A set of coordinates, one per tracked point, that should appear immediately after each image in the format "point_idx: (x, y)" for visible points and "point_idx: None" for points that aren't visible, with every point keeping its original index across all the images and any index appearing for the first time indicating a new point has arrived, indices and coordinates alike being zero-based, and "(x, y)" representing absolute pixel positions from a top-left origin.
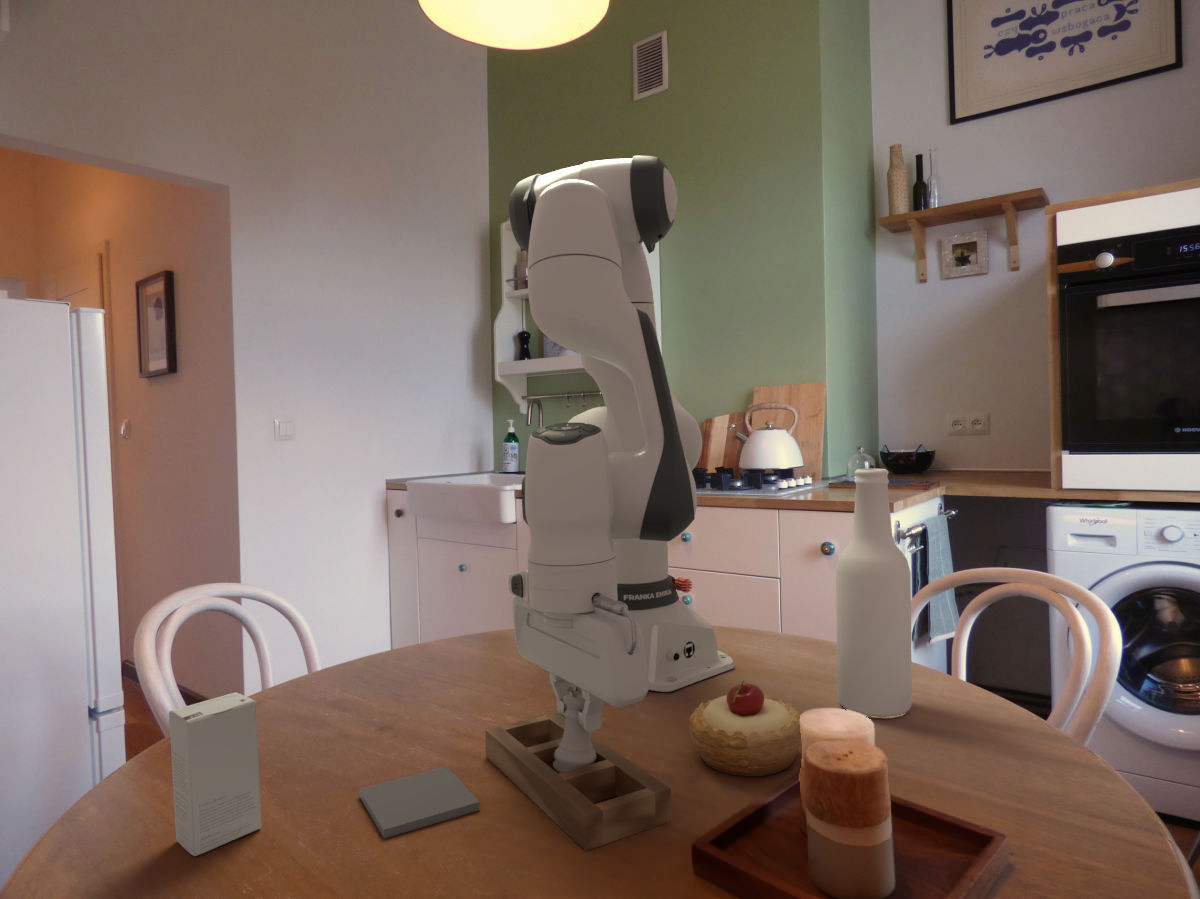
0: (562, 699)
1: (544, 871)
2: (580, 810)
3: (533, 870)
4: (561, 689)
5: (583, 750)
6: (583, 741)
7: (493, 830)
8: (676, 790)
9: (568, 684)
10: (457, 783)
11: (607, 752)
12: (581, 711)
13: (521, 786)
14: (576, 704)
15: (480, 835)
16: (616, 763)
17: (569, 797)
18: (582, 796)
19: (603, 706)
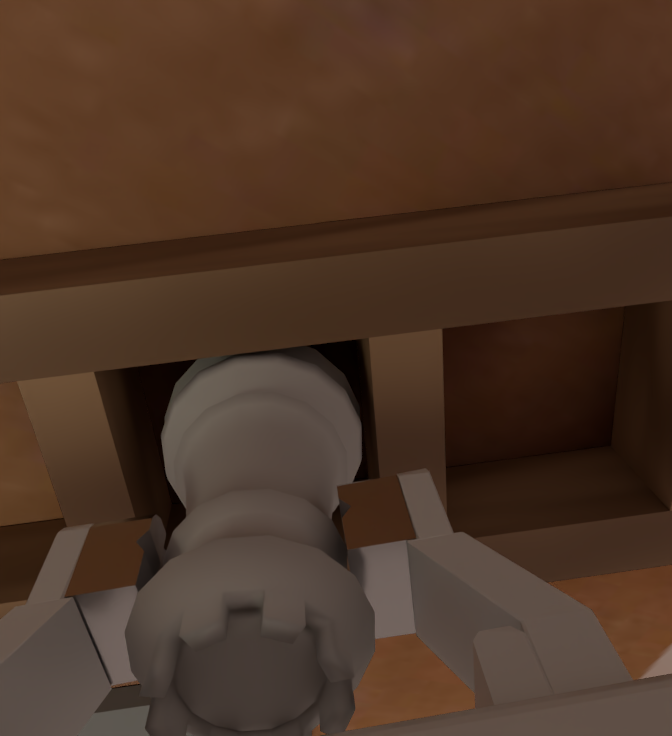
0: (109, 670)
1: (648, 592)
2: (666, 559)
3: (628, 611)
4: (50, 722)
5: (343, 465)
6: (332, 482)
7: (406, 650)
8: (511, 14)
9: (6, 696)
10: (136, 716)
11: (295, 303)
12: (379, 627)
13: None
14: (356, 684)
15: (412, 677)
16: (431, 316)
17: (571, 564)
18: (594, 528)
19: (499, 556)
